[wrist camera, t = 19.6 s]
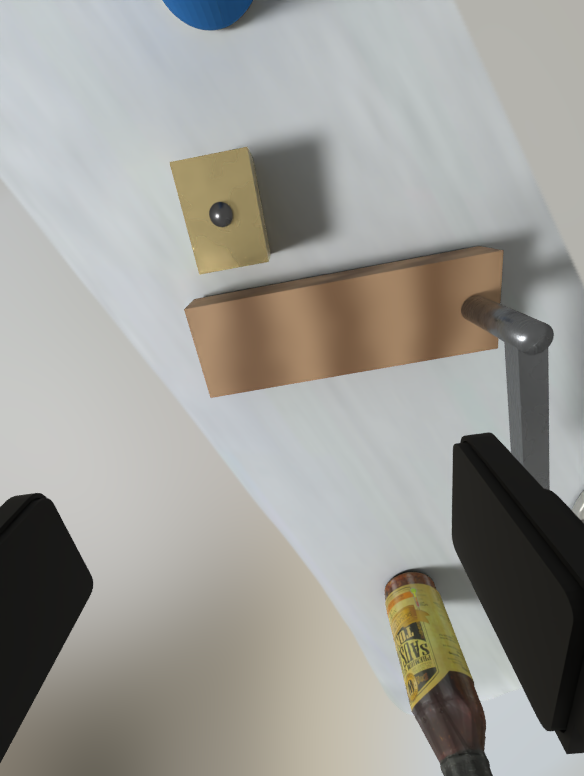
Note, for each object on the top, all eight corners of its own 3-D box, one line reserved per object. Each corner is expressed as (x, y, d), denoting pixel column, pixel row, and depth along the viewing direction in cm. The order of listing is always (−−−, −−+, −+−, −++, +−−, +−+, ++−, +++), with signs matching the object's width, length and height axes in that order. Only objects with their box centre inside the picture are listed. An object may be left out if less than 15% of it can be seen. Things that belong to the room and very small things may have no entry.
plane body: (480, 244, 29) (509, 249, 25) (478, 331, 32) (503, 347, 28) (190, 298, 30) (178, 310, 27) (213, 378, 33) (205, 398, 30)
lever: (455, 300, 26) (517, 332, 20) (490, 290, 26) (565, 319, 19) (475, 478, 33) (527, 549, 26) (503, 471, 33) (563, 541, 26)
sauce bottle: (393, 564, 43) (473, 814, 25) (443, 573, 44) (554, 821, 26) (372, 601, 46) (432, 852, 28) (419, 609, 47) (506, 858, 29)
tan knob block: (252, 157, 26) (246, 145, 22) (270, 253, 29) (268, 262, 24) (188, 170, 27) (167, 161, 22) (212, 264, 29) (198, 275, 24)
